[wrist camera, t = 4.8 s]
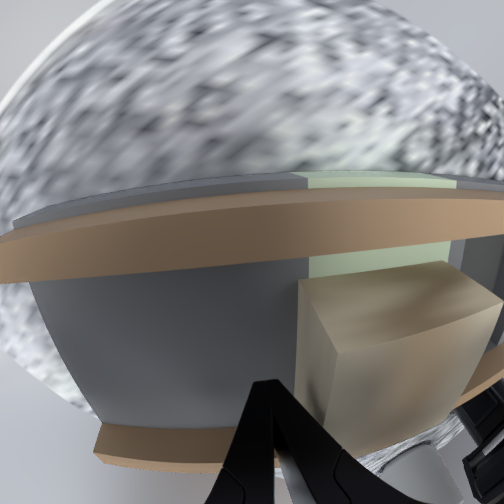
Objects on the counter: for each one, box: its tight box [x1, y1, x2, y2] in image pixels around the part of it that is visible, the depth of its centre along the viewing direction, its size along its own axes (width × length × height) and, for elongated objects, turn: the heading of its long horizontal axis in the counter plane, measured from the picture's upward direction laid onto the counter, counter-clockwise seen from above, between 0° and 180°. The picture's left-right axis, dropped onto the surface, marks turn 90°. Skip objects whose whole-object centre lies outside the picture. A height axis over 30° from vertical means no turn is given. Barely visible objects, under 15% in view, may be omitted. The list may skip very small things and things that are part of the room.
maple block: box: [294, 260, 504, 458], centre depth 8 cm, size 6×6×4 cm
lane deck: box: [0, 171, 504, 473], centre depth 10 cm, size 26×12×4 cm, turn 94°
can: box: [380, 444, 464, 504], centre depth 16 cm, size 8×8×12 cm
